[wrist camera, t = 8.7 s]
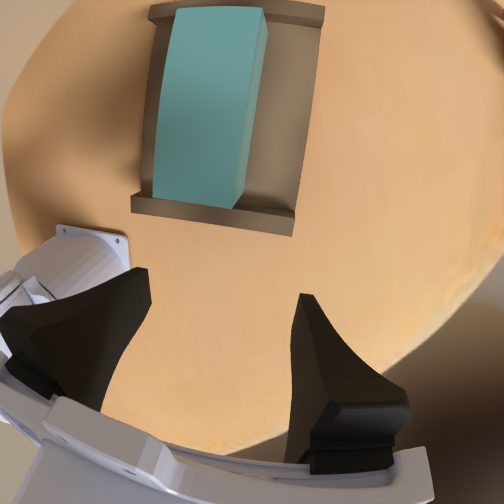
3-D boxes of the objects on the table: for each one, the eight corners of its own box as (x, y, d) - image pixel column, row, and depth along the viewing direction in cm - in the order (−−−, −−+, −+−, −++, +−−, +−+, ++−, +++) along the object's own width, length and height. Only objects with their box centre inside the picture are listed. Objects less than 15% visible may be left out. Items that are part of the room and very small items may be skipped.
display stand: (152, 199, 21) (130, 212, 17) (170, 20, 14) (150, 5, 11) (291, 218, 20) (291, 236, 17) (319, 25, 13) (325, 6, 10)
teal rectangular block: (178, 182, 18) (152, 197, 14) (199, 29, 13) (177, 8, 9) (243, 191, 17) (231, 209, 14) (268, 32, 13) (262, 7, 9)
